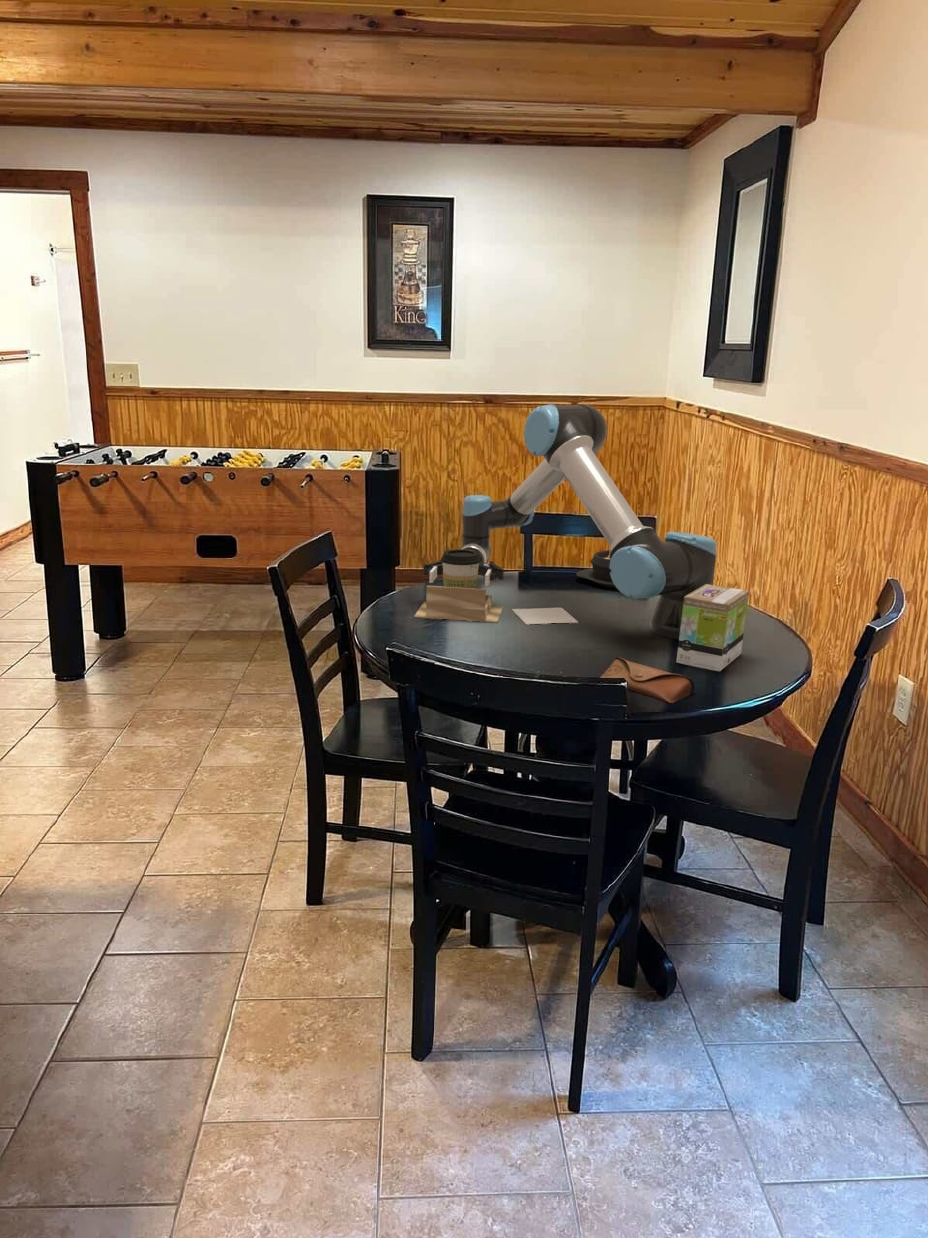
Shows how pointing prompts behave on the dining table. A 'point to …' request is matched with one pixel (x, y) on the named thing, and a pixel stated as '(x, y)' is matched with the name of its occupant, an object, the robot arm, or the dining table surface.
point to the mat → (544, 616)
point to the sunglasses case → (651, 680)
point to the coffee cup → (460, 568)
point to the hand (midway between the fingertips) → (458, 579)
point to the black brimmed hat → (599, 570)
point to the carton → (458, 605)
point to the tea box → (712, 627)
